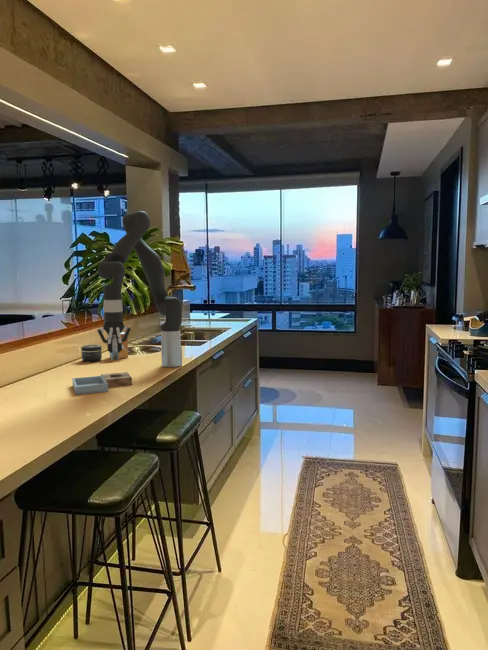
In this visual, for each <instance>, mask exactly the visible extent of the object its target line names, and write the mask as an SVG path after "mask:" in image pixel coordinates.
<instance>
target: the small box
mask: <svg viewBox="0 0 488 650" xmlns="http://www.w3.org/2000/svg"><path fill="white" fill-rule="evenodd" d="M124 334H125V331H122V332H121V333H120V335H121V339H122V338H123V336H124ZM128 341H129V338H128V337H127V340H126V341H124V342H122V351H120V352H119V359H128V358H129V342H128ZM109 358H110V359H111V353H109Z"/></svg>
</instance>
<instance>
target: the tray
mask: <svg viewBox="0 0 488 650" xmlns="http://www.w3.org/2000/svg"><path fill="white" fill-rule="evenodd" d="M72 387H73V391H74V394H75V396H78V395H86V394H88V395H89V394H99V393H107V392H109V387H108V383H107V382H106V380H105V378H104V379H103V377H102V376H101V375H97V376H83V377H82V376H81V377H73V378H72Z"/></svg>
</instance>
